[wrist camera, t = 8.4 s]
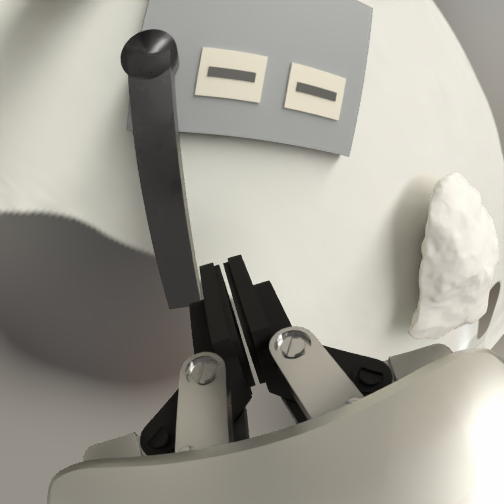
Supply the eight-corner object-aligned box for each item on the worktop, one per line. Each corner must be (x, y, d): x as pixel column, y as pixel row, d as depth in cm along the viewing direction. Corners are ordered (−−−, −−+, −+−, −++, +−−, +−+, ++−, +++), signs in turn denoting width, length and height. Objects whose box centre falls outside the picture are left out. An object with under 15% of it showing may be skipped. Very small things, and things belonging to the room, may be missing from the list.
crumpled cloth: (423, 349, 45) (452, 374, 37) (336, 269, 29) (392, 314, 21) (483, 256, 43) (515, 274, 35) (435, 121, 26) (494, 129, 18)
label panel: (130, 129, 19) (121, 132, 17) (163, -33, 12) (161, -50, 9) (341, 153, 24) (359, 160, 22) (364, 11, 17) (383, 4, 14)
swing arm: (133, 49, 14) (120, 35, 10) (178, 41, 14) (176, 25, 11) (166, 279, 23) (164, 309, 19) (203, 274, 23) (206, 303, 20)
